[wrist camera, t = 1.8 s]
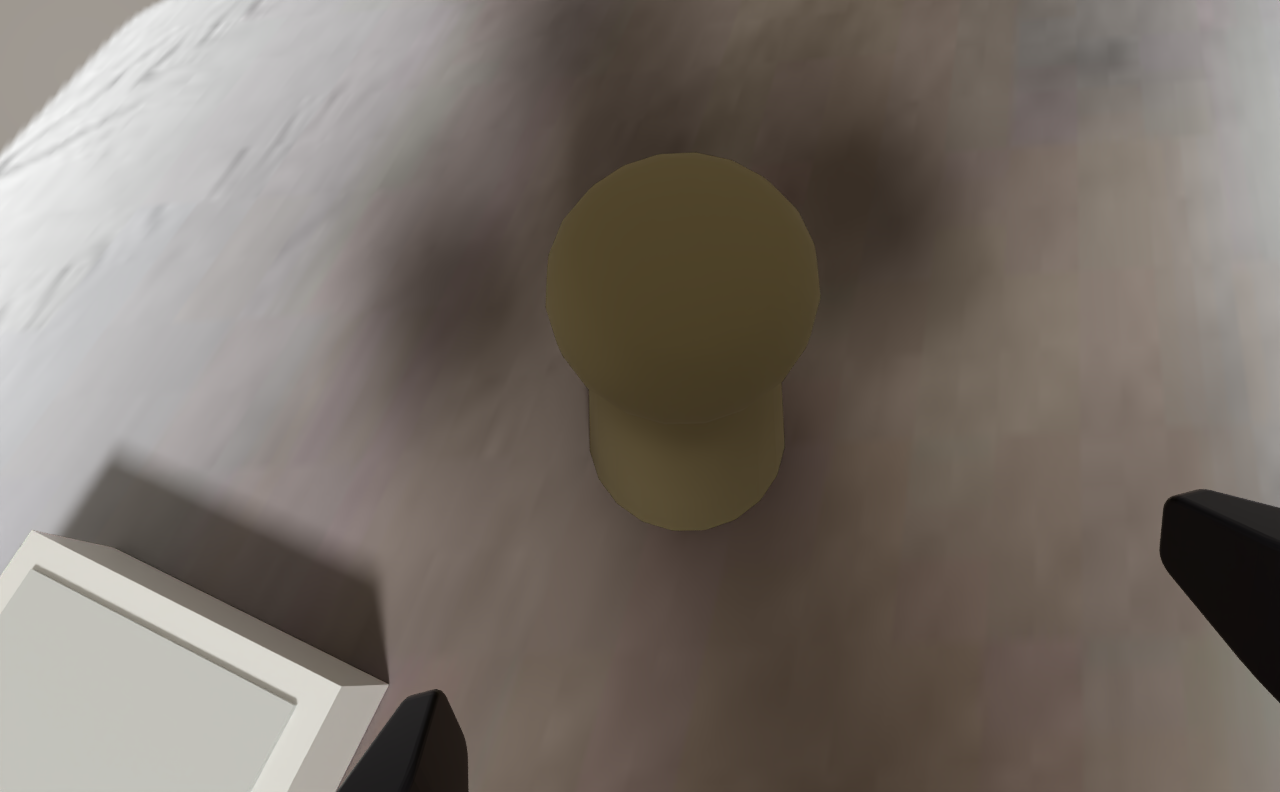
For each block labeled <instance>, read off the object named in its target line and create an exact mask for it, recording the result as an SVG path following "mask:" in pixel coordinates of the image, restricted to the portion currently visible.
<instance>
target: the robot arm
mask: <svg viewBox="0 0 1280 792" xmlns="http://www.w3.org/2000/svg"><path fill="white" fill-rule="evenodd" d="M1160 557H1161V560H1162V563H1163V565H1164V567H1165V568H1166V570H1167V571H1168V573H1169V574H1170V575H1171V576H1172V578H1173V579H1174V580H1175V581H1176V583H1177V584H1178V585H1179V586H1180V587H1181V589H1182V590H1183V591H1184V592H1185V593H1186V595H1187V596H1188V597H1189V598H1190V600H1191V601H1192V602H1193V603H1194V604H1195V606H1196V607H1197V608H1198V609H1199V610H1200V612H1201V613H1202V614H1203V615H1204V617H1205V618H1206V619H1207V620H1208V621H1209V623H1210V624H1211V625H1212V626H1213V627H1214V629H1215V630H1216V631H1217V632H1218V634H1219V635H1220V636H1221V637H1222V638H1223V640H1224V641H1225V642H1226V643H1227V644H1228V646H1229V647H1230V648H1231V649H1232V651H1233V652H1234V653H1235V654H1236V655H1237V657H1238V658H1239V659H1240V660H1241V661H1242V662H1243V664H1244V665H1245V666H1246V667H1247V668H1248V669H1249V671H1250V672H1251V673H1252V674H1253V675H1254V676H1255V677H1256V679H1257V680H1258V681H1259V682H1260V683H1261V684H1262V685H1263V686H1264V687H1265V688H1266V689H1267V690H1268V691H1269V692H1270V693H1271V694H1272V695H1273V697H1274V698H1275V699H1276V700H1277V701H1278V702H1279V703H1280V508H1278V507H1275V506H1271V505H1267V504H1263V503H1259V502H1255V501H1251V500H1247V499H1243V498H1239V497H1235V496H1231V495H1227V494H1223V493H1219V492H1216V491H1212V490H1207V489H1199V490H1194V491H1190V492H1186V493H1182V494H1178V495H1174V496H1172V497H1170V498H1169V499H1168V500H1167V501H1166V503H1165V504H1164V508H1163V517H1162V528H1161V538H1160ZM337 792H468V753H467V746H466V741H465V738H464V735H463V732H462V730H461V728H460V726H459V724H458V721H457V719H456V717H455V715H454V713H453V710H452V708H451V706H450V704H449V702H448V699H447V697H446V695H445V694H444V693H443V692H442V691H441V690H438V689H434V690H430V691H426V692H422V693H419V694H415V695H411V696H409V697H407V698H406V699H405V700H404V701H403V702H402V703H401V704H400V706H399V707H398V708H397V710H396V711H395V713H394V714H393V715H392V717H391V718H390V719H389V721H388V722H387V723H386V725H385V726H384V728H383V729H382V730H381V732H380V733H379V734H378V736H377V737H376V739H375V740H374V741H373V743H372V744H371V745H370V747H369V748H368V749H367V751H366V752H365V754H364V755H363V756H362V758H361V759H360V760H359V762H358V763H357V765H356V766H355V767H354V769H353V770H352V771H351V773H350V774H349V775H348V777H347V778H346V780H345V781H344V782H343V784H342V785H341V786H340V788H339V789H338V791H337Z"/></svg>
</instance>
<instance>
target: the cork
mask: <svg viewBox="0 0 1280 792" xmlns="http://www.w3.org/2000/svg"><path fill="white" fill-rule="evenodd" d="M820 298H821V295H820V285H819V275H818V266H817V257H816V251H815V245H814V242H813V240H812V238H811V236H810V234H809V232H808V230H807V228H806V226H805V224H804V222H803V220H802V218H801V216H800V214H799V212H798V210H797V209H796V208H795V207H794V206H793V205H792V204H791V203H790V202H789V201H788V200H787V199H786V198H785V197H784V196H783V195H782V194H781V193H780V192H779V191H778V190H777V189H776V188H775V187H774V186H773V185H772V184H771V183H770V182H769V181H767V180H766V179H765V178H764V177H762V176H761V175H759V174H757V173H755V172H753V171H751V170H749V169H747V168H745V167H744V166H742V165H740V164H738V163H736V162H734V161H732V160H729V159H724V158H719V157H715V156H710V155H705V154H701V153H696V152H693V153H673V154H658V155H655V156H652V157H648V158H645V159H642V160H639V161H636V162H633V163H630V164H626V165H624V166H622V167H621V168H619V169H617V170H616V171H614V172H613V173H611V174H610V175H608V176H607V177H605V178H604V179H602V180H601V181H599V182H598V183H596V184H594V185H593V186H592V187H591V188H590V189H589V190H588V191H587V192H586V194H585V195H584V196H583V197H582V198H581V199H580V201H579V202H578V203H577V204H576V205H575V207H574V208H573V209H572V210H571V211H570V212H569V214H568V215H567V216H566V217H565V218H564V220H563V221H562V223H561V226H560V228H559V231H558V233H557V235H556V238H555V240H554V243H553V245H552V248H551V250H550V253H549V255H548V266H547V284H546V306H545V307H546V310H547V313H548V317H549V320H550V323H551V326H552V329H553V332H554V335H555V338H556V342H557V344H558V347H559V349H560V351H561V353H562V355H563V357H564V358H565V360H566V361H567V362H568V363H569V365H570V366H571V367H572V369H573V370H574V371H575V373H576V374H577V375H578V376H579V378H580V379H581V380H582V382H583V383H584V384H585V386H586V387H587V388H589V423H590V453H591V456H592V459H593V462H594V465H595V468H596V471H597V475H598V478H599V480H600V481H601V483H602V484H603V485H604V487H605V488H606V489H607V491H608V492H609V493H610V495H611V496H612V497H613V499H614V500H615V502H616V503H617V504H618V505H620V506H621V507H623V508H624V509H626V510H627V511H628V512H630V513H631V514H633V515H634V516H635V517H637V518H638V519H640V520H641V521H643V522H646V523H649V524H653V525H656V526H659V527H662V528H666V529H669V530H672V531H685V530H707V529H710V528H713V527H716V526H718V525H721V524H724V523H727V522H730V521H733V520H735V519H737V518H738V517H739V516H741V515H742V514H743V513H745V512H746V511H747V510H749V509H750V508H751V507H752V506H754V505H755V504H756V503H758V502H759V501H760V500H761V499H762V497H763V496H764V494H765V493H766V491H767V490H768V488H769V487H770V485H771V484H772V482H773V481H774V479H775V478H776V476H777V474H778V470H779V466H780V462H781V459H782V455H783V451H784V447H785V441H784V422H783V403H782V384H781V382H783V380H784V379H785V377H786V376H787V374H788V373H789V371H790V370H791V369H792V367H793V366H794V364H795V363H796V361H797V360H798V358H799V357H800V356H801V354H802V353H803V351H804V350H805V348H806V346H807V343H808V341H809V338H810V335H811V332H812V328H813V324H814V320H815V316H816V313H817V309H818V305H819V301H820Z"/></svg>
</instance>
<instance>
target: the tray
mask: <svg viewBox="0 0 1280 792" xmlns="http://www.w3.org/2000/svg"><path fill="white" fill-rule="evenodd" d="M388 685H389V684H387V683H385V682H383V681H381V680H379V679H377V678H375V677H373V676H371V675H369V674H367V673H365V672H363V671H361V670H359V669H357V668H355V667H353V666H351V665H349V664H347V663H345V662H343V661H341V660H339V659H337V658H335V657H333V656H331V655H329V654H327V653H325V652H323V651H321V650H319V649H317V648H315V647H313V646H311V645H309V644H307V643H305V642H303V641H300V640H298V639H296V638H294V637H292V636H290V635H288V634H286V633H284V632H282V631H280V630H278V629H276V628H274V627H272V626H270V625H268V624H266V623H264V622H262V621H260V620H258V619H256V618H254V617H252V616H250V615H248V614H246V613H244V612H242V611H240V610H238V609H236V608H234V607H232V606H230V605H228V604H226V603H224V602H222V601H220V600H218V599H216V598H214V597H212V596H210V595H208V594H206V593H204V592H202V591H200V590H198V589H196V588H194V587H192V586H190V585H188V584H186V583H184V582H182V581H180V580H178V579H176V578H174V577H172V576H170V575H168V574H166V573H164V572H162V571H160V570H158V569H156V568H154V567H152V566H150V565H148V564H146V563H144V562H142V561H140V560H138V559H136V558H134V557H132V556H130V555H127V554H125V553H123V552H121V551H119V550H117V549H115V548H113V547H109V546H104V545H100V544H95V543H90V542H85V541H81V540H76V539H71V538H67V537H62V536H57V535H53V534H48V533H43V532H39V531H34V530H32V531H31V532H30V534H29V535H28V537H27V538H26V539H25V541H24V542H23V544H22V545H21V547H20V548H19V550H18V551H17V553H16V554H15V555H14V557H13V558H12V560H11V561H10V563H9V564H8V566H7V567H6V569H5V570H4V571H3V573H2V574H1V576H0V792H336V790H337V788H338V786H339V784H340V782H341V780H342V778H343V776H344V773H345V771H346V769H347V767H348V765H349V763H350V761H351V759H352V757H353V755H354V753H355V751H356V749H357V747H358V745H359V743H360V741H361V739H362V737H363V735H364V733H365V731H366V729H367V727H368V725H369V723H370V721H371V719H372V717H373V715H374V713H375V711H376V709H377V707H378V705H379V703H380V701H381V699H382V697H383V695H384V693H385V691H386V689H387V687H388Z"/></svg>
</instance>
